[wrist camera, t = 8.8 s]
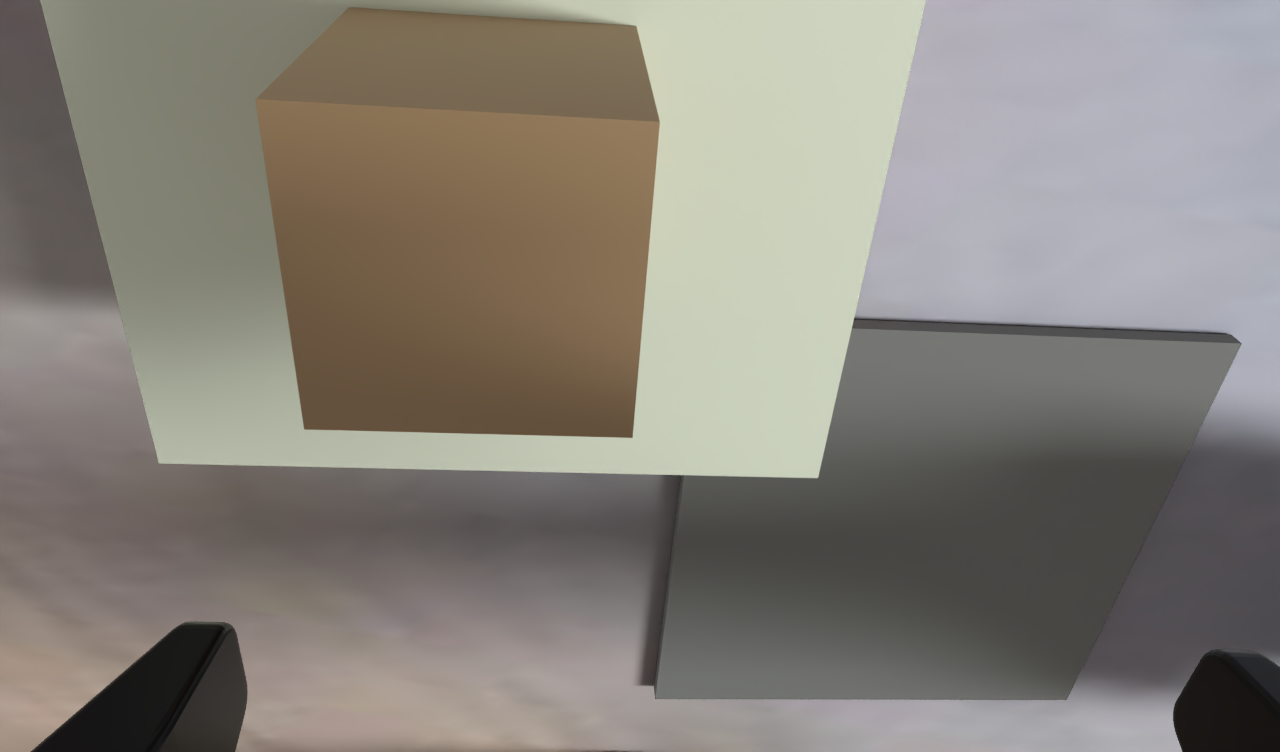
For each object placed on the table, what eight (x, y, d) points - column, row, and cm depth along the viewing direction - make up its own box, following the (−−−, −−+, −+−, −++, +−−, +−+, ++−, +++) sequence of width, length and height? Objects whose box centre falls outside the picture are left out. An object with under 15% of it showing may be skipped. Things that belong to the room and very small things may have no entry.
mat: (1231, 334, 21) (1241, 343, 20) (1060, 688, 27) (1066, 699, 27) (702, 313, 20) (704, 322, 19) (654, 687, 26) (655, 698, 26)
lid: (968, -298, 11) (1199, -345, 7) (808, 450, 17) (882, 661, 13) (-23, -397, 10) (-432, -519, 6) (177, 434, 16) (39, 657, 12)
